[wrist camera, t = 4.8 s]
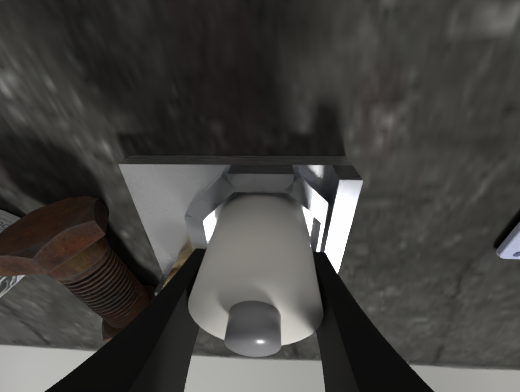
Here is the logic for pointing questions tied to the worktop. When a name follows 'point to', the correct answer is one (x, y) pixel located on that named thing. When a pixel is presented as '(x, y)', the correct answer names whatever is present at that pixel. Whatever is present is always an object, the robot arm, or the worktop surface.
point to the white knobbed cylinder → (258, 276)
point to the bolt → (76, 259)
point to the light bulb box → (3, 220)
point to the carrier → (229, 186)
